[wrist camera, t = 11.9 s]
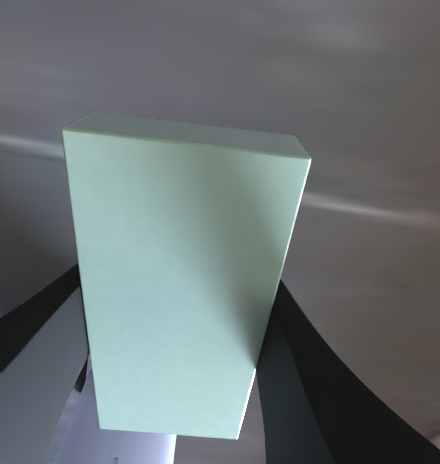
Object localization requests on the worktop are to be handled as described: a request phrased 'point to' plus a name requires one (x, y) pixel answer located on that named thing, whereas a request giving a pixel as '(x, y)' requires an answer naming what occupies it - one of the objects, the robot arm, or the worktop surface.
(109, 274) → the sage green thick block
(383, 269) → the worktop surface
